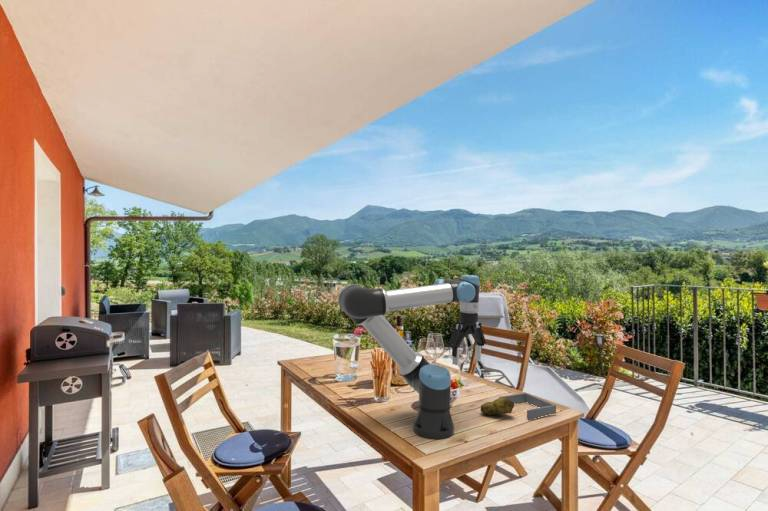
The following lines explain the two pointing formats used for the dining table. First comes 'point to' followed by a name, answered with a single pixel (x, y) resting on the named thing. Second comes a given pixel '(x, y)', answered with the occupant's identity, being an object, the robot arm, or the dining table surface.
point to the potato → (498, 406)
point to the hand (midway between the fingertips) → (466, 362)
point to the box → (544, 406)
